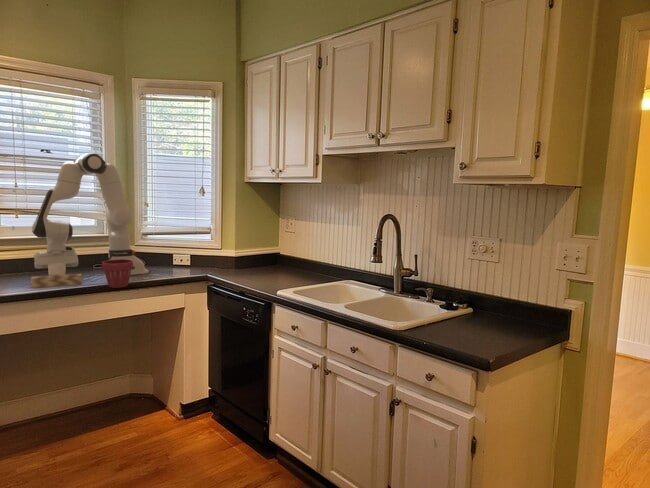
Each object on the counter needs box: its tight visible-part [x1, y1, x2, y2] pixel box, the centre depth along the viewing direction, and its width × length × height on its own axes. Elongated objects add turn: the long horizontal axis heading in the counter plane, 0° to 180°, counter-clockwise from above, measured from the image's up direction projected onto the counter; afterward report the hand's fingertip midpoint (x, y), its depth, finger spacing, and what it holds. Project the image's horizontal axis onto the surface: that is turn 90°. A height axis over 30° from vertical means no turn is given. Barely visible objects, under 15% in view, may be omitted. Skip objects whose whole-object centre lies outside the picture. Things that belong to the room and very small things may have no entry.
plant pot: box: [101, 259, 133, 289], centre depth 237 cm, size 14×14×13 cm
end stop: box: [30, 273, 83, 289], centre depth 235 cm, size 22×5×5 cm, turn 120°
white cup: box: [47, 263, 67, 276], centre depth 239 cm, size 8×8×10 cm
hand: (57, 273), depth 242 cm, fingers closed, pressing on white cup
